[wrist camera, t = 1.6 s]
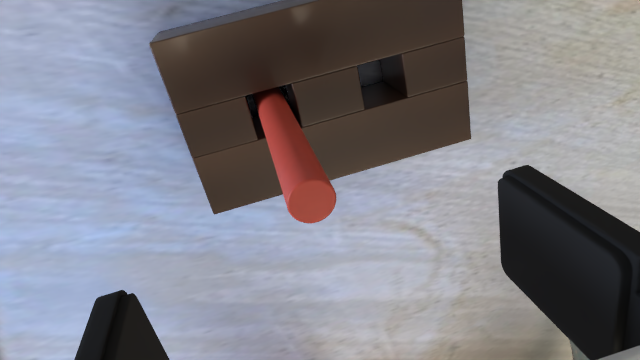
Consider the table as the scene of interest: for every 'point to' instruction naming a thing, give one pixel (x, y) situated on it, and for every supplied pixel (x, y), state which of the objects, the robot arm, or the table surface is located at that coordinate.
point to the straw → (294, 160)
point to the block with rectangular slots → (316, 87)
